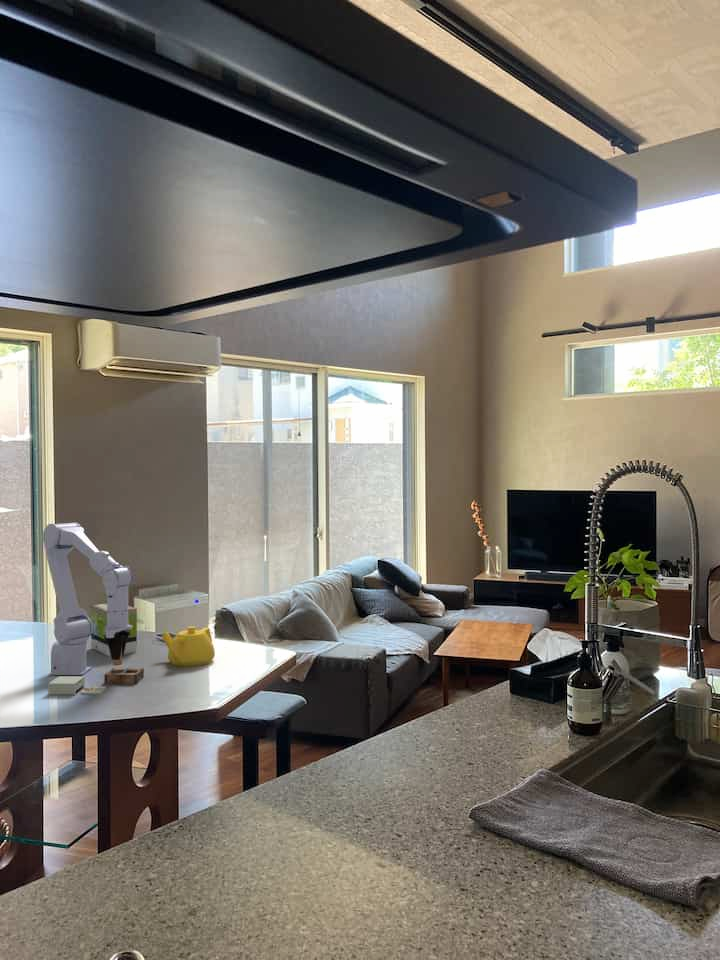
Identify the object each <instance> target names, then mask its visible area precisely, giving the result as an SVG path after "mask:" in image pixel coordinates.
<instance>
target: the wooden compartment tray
mask: <svg viewBox="0 0 720 960" xmlns="http://www.w3.org/2000/svg"><path fill="white" fill-rule="evenodd" d="M144 673H145V669H144V668H143V667H141V668H140V667H139V668H138V667H135V668H134V667H133V668H131V667H130V668H129V667H127V668H122V667H121V668H120V667H118V668H117V667H113V668H111V669H109V670H108V671H107V672H105V674H104V684H107V685H109V684H110V685H114V684H115V685H116V684H117V685H118V684H119V685H120V684H122V685H123V684H124V685H126V684H127V685H128V684H129V685H133V684H134V685H137V684H138V683H140V681H141V680H142V679H143V678H144V677H145V675H144Z"/></svg>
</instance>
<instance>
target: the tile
mask: <svg viewBox="0 0 720 960" xmlns="http://www.w3.org/2000/svg"><path fill="white" fill-rule="evenodd" d="M106 689H107V687H106V686H86V687H84V689H83V690H81V691H80V694H81V695H100V694H101V693H102V692H104V691H105V690H106Z"/></svg>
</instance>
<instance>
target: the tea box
mask: <svg viewBox="0 0 720 960" xmlns="http://www.w3.org/2000/svg"><path fill="white" fill-rule="evenodd" d="M137 609H138V608H135V607H133V606H130V605H128V621H129V625H132V628H131V629H126V630H128V631H131V633H130V635H129V637H128V639H127V642H126V646H125V651H124V655H127V654H131V653H133V654H134V653H136V652H138V651H137V650H138V649H137V648H138V647H137V646H138V642H137V641H138V640H137V639H138V635H137V634H138V633H137V631H138V630H137V629H138V625H137V623H138V620H137V619H138V616H137V615H138V610H137ZM90 620H91V622H92V625H93V631H92V634H91V635H90V648H91V649H94V650H96V651H98V652H100V653H102V654H103V655H105V656H107V657H111V654H110V650H109V646H108V644H107V642H106V640H105V638H104V635H106V631H107V630H106V626H107V603H101V604H96V605H95V604H93V605H90Z"/></svg>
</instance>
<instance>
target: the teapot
mask: <svg viewBox="0 0 720 960" xmlns="http://www.w3.org/2000/svg"><path fill="white" fill-rule="evenodd" d="M160 637H161V638H162V639H163V642H164V643H165V645H166V646H167V648H168V652H167V659H168V660H169V662H170V663H171V664H172V665H174V666H177V667H191V668H193V667H199V666H205V665H207V664H210V663H211V661H213V659H214V658H215V655H216V654H215V653H216V652H215V648H214V644H213V638H212V633H211V629H210V627H202V628H201V629H197V627H196V626H194V625H192V626H191V625H190V626H188V627H186V629H185V630H181V631H179V632H177V634H176V635H175V636H174V637H171V635H170V634H169V632H167V631H166V632H164V633H162V634H161V636H160Z"/></svg>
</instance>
